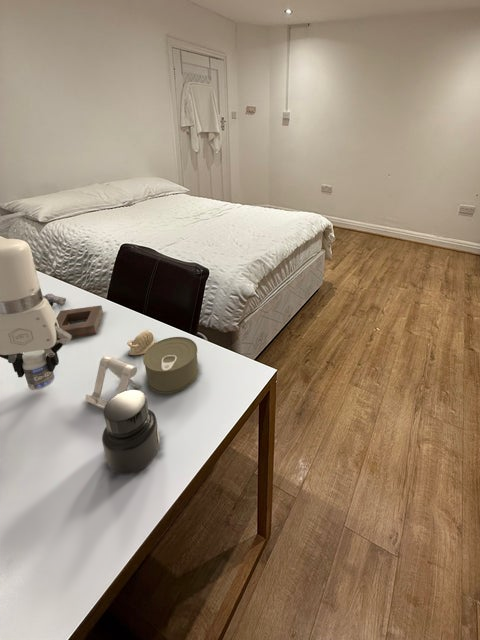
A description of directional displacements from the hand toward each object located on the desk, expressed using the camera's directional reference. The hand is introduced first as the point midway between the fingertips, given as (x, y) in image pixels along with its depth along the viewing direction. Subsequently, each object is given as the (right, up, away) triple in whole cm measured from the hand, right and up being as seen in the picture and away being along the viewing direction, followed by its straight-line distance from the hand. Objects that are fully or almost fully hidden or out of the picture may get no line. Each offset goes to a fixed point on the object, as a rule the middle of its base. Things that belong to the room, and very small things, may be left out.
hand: (38, 369), depth 71 cm
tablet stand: (+17, -7, +1) cm, 18 cm away
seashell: (-22, +7, +31) cm, 38 cm away
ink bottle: (+27, -12, -10) cm, 31 cm away
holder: (-7, +3, +23) cm, 24 cm away
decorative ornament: (+15, -1, +16) cm, 22 cm away
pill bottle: (0, -4, +1) cm, 4 cm away
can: (+27, -5, +8) cm, 29 cm away
